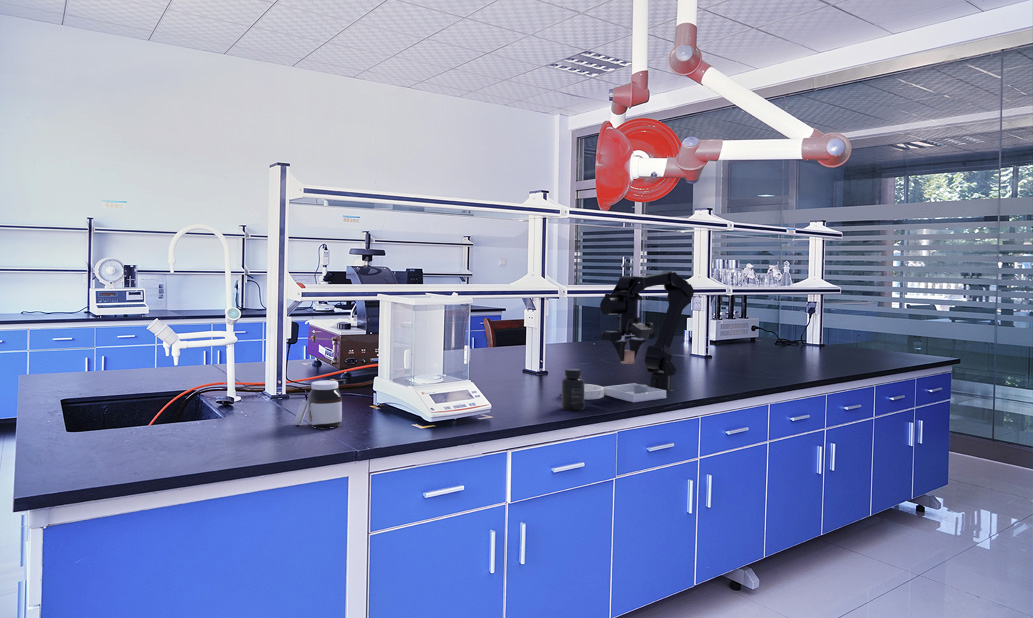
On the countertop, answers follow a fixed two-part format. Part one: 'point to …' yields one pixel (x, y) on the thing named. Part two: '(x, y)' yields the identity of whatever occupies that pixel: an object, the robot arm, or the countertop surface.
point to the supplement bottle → (572, 390)
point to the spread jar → (322, 405)
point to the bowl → (593, 391)
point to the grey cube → (640, 388)
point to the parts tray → (628, 393)
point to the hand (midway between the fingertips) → (627, 360)
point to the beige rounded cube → (629, 357)
